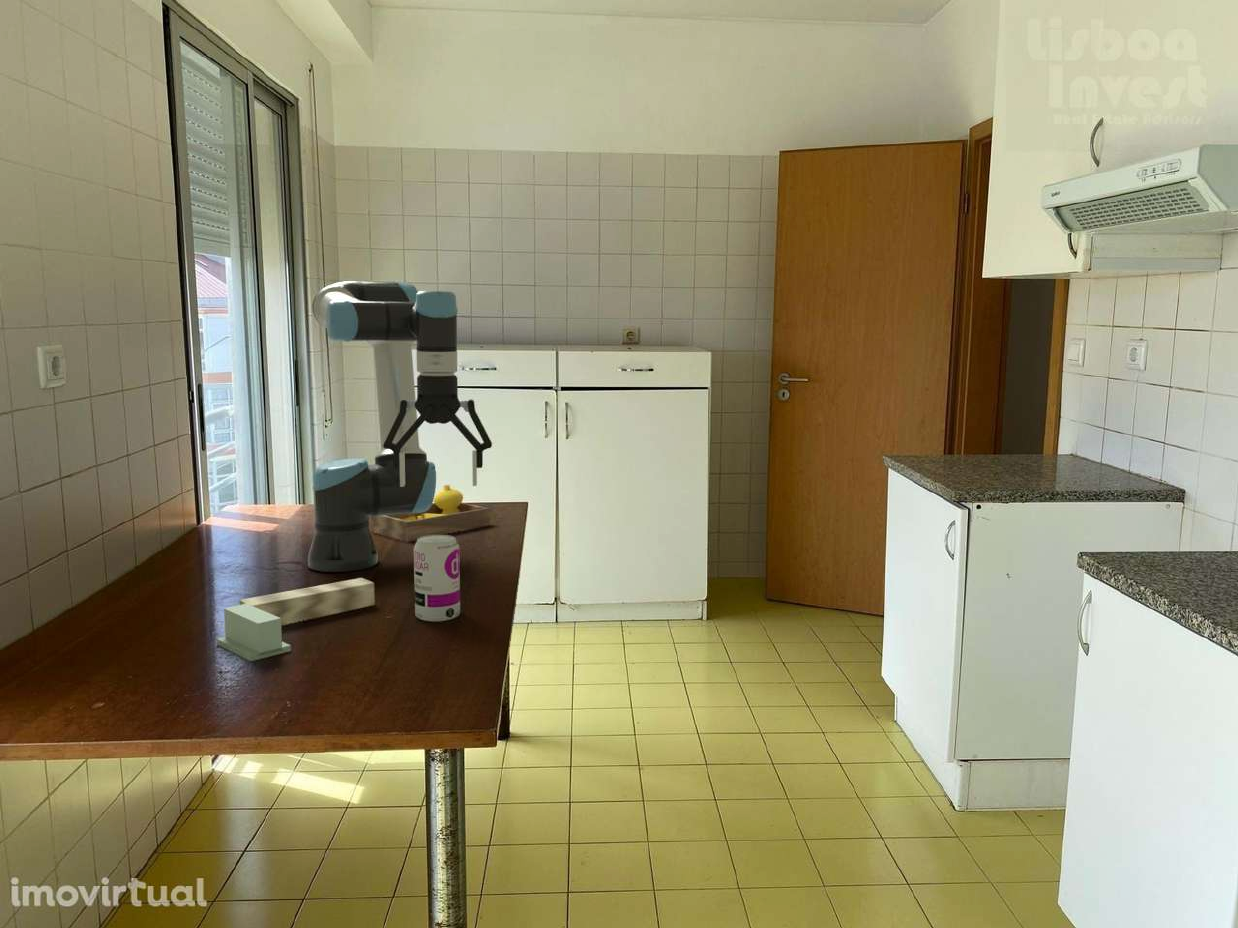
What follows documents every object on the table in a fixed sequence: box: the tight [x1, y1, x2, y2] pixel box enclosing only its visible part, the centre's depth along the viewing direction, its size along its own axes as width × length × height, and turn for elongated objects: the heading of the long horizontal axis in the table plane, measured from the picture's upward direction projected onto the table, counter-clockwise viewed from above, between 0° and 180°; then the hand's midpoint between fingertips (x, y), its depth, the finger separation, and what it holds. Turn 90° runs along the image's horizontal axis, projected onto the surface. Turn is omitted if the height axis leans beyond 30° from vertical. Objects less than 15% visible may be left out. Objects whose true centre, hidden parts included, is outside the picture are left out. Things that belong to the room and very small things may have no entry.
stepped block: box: [216, 604, 292, 662], centre depth 161 cm, size 12×7×6 cm, turn 47°
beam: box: [238, 577, 376, 627], centre depth 180 cm, size 24×5×5 cm, turn 132°
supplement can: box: [413, 534, 461, 622], centre depth 179 cm, size 8×8×15 cm
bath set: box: [402, 484, 464, 521], centre depth 255 cm, size 20×10×11 cm, turn 145°
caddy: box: [370, 502, 491, 543], centre depth 252 cm, size 16×26×6 cm, turn 137°
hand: (438, 485), depth 184 cm, fingers open, 13 cm apart
